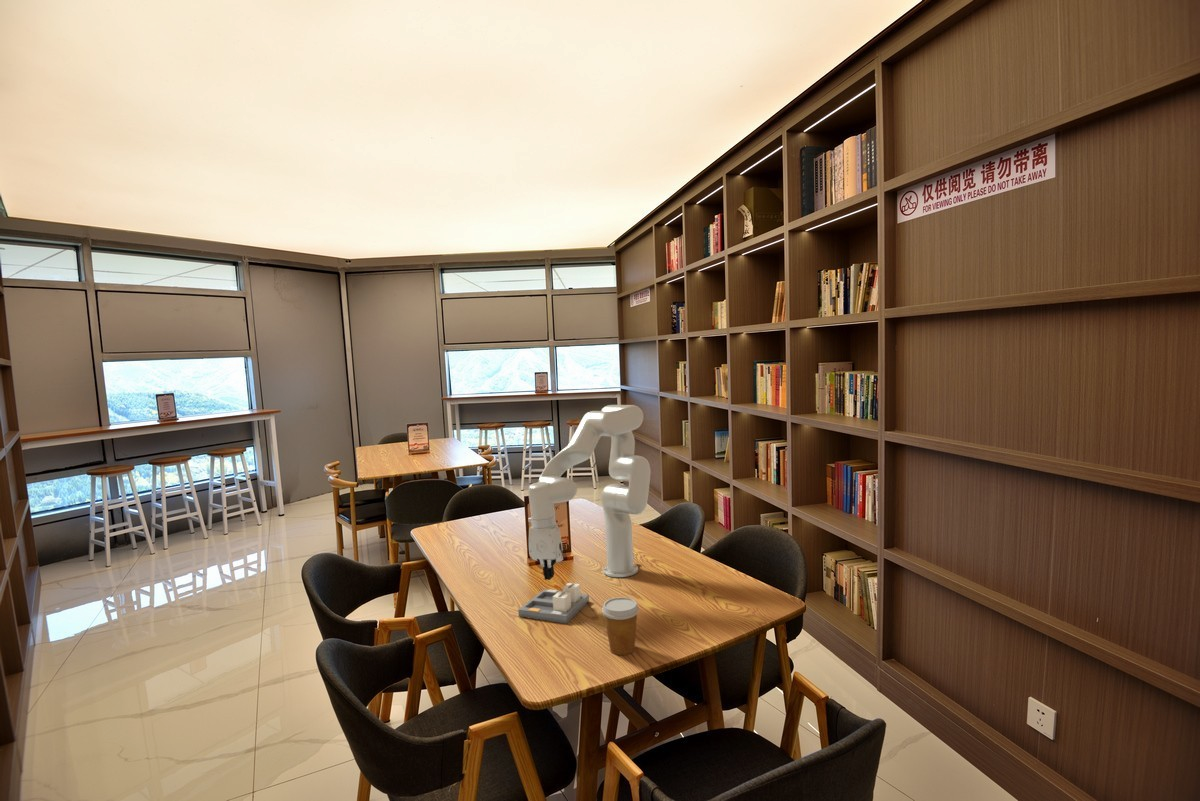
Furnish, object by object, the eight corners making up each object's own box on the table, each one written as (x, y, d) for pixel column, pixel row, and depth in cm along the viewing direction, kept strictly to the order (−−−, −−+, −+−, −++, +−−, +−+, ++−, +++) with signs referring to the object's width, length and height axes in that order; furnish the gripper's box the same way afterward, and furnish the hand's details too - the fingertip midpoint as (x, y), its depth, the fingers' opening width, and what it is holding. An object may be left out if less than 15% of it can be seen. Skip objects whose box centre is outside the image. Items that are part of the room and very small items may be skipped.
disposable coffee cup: (646, 644, 144) (644, 600, 143) (630, 662, 136) (627, 614, 135) (615, 637, 149) (613, 594, 148) (597, 653, 141) (594, 607, 140)
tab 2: (569, 598, 173) (568, 581, 173) (580, 599, 172) (579, 583, 171) (563, 603, 170) (562, 586, 169) (575, 605, 168) (574, 588, 168)
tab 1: (559, 607, 167) (558, 590, 166) (571, 609, 165) (570, 591, 165) (553, 613, 163) (552, 595, 163) (565, 614, 161) (564, 597, 161)
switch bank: (544, 595, 180) (543, 588, 179) (589, 601, 173) (588, 593, 173) (518, 616, 165) (518, 608, 165) (566, 623, 159) (566, 615, 159)
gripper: (516, 524, 173) (522, 581, 174) (559, 526, 167) (565, 585, 168) (528, 517, 179) (534, 571, 181) (570, 519, 174) (575, 575, 175)
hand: (549, 578), depth 175 cm, fingers closed
